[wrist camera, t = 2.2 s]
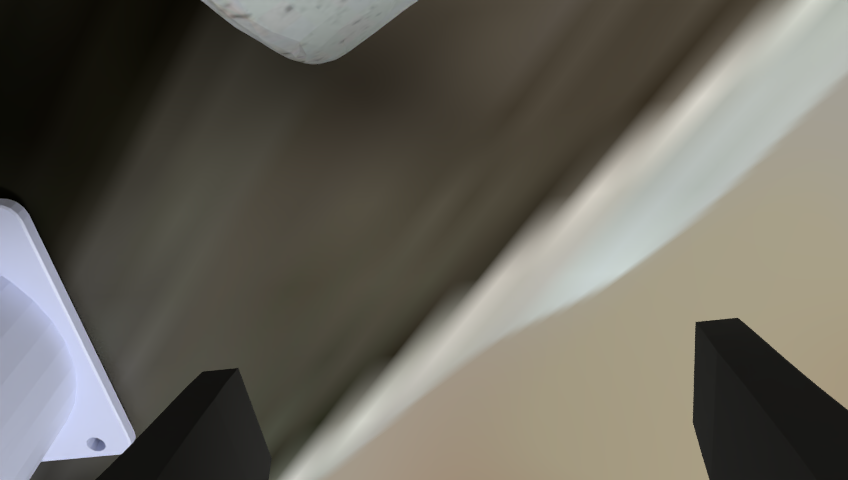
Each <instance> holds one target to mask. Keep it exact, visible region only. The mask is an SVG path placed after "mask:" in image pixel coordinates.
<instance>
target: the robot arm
mask: <svg viewBox="0 0 848 480" xmlns="http://www.w3.org/2000/svg"><path fill="white" fill-rule="evenodd" d="M695 330H696V331H695V366H694V402H693V404H694V405H693V425H694V428H695V432H696V435H697V439H698V442H699V446H700V449H701V453H702V456H703V459H704V463H705V466H706V469H707V473H708V476H709V479H710V480H848V410H847V409H846V408H844V407H843V406H842V405H841V404H839V403H838V402H837V401H836V400H834V399H833V398H832V397H831V396H829V395H828V394H827V393H826V392H824V391H823V390H822V389H821V388H819V387H818V386H817V385H816V384H815V383H813V382H812V381H811V380H810V379H808V378H807V377H806V376H805V375H804V374H803V373H801V372H800V371H799V370H798V369H797V368H795V367H794V366H793V365H792V364H791V363H790V362H788V361H787V360H786V359H785V358H784V357H782V356H781V355H780V354H779V353H778V352H777V351H776V350H775V349H773V348H772V347H771V346H770V345H769V344H768V343H767V342H765V341H764V340H763V339H762V338H761V337H760V336H759V335H757V334H756V333H755V332H754V331H753V330H752V329H750V328H749V327H748V326H747V325H746V324H745V323H743V322H742V321H741V320H740V319H738V318H732V319H722V320H712V321H702V322H696V328H695ZM97 438H99V439H101V440H99V439H97ZM135 438H136V436H135V432H134V430H133V428H132V426H131V424H130V422H129V420H128V418H127V416H126V413H125V411H124V409H123V407H122V405H121V403H120V401H119V399H118V397H117V395H116V393H115V391H114V389H113V387H112V385H111V382H110V380H109V378H108V376H107V374H106V372H105V370H104V368H103V366H102V364H101V362H100V360H99V358H98V356H97V354H96V352H95V349H94V347H93V345H92V343H91V341H90V339H89V337H88V335H87V333H86V331H85V329H84V327H83V325H82V323H81V321H80V319H79V316H78V314H77V312H76V310H75V308H74V306H73V304H72V302H71V300H70V298H69V296H68V294H67V292H66V290H65V288H64V285H63V283H62V281H61V279H60V277H59V275H58V273H57V271H56V269H55V267H54V265H53V263H52V261H51V259H50V257H49V255H48V252H47V250H46V248H45V246H44V244H43V242H42V240H41V238H40V236H39V234H38V232H37V230H36V228H35V226H34V224H33V222H32V219H31V217H30V215H29V214H28V212H27V211H26V210H25V208H24V207H23V206H21V205H20V204H19V203H17V202H15V201H13V200H10V199H0V480H29V479H30V478H31V476H32V475H33V473H34V471H35V470H36V468H37V467H38V465H39V464H40V462H42V461H53V460H64V459H75V458H85V457H96V456H107V455H118V454H121V455H120V456H119V457H118V458H117V459H116V460H115V461H114V462H113V463H112V464H111V465H110V466H109V467H108V468H107V469H106V470H105V471H104V472H103V473H102V474H101V475H100V476H99V477H98V478H97V479H96V480H268V479H269V472H270V465H271V456H270V453H269V450H268V448H267V445H266V442H265V439H264V437H263V434H262V431H261V429H260V426H259V423H258V420H257V418H256V415H255V412H254V410H253V407H252V404H251V401H250V399H249V396H248V393H247V391H246V388H245V385H244V382H243V380H242V377H241V374H240V372H239V369H238V368H235V369H225V370H215V371H205V372H202V373H201V374H200V375H199V376H198V377H197V378H196V379H195V380H193V381H192V382H191V383H190V384H189V385H188V386H187V387H186V388H185V389H184V390H183V391H182V392H181V393H180V395H179V396H178V397H177V398H176V399H175V400H174V401H173V402H172V403H171V404H170V405H169V406H168V407H167V408H166V409H165V410H164V411H163V412H162V413H161V414H160V415H159V416H158V417H157V418H156V419H155V420H154V422H153V423H152V424H151V425H150V426H149V427H148V428H147V429H146V430H145V431H144V432H143V433H142V434H141V435H140V436H139V437H138V438H137V439H136V440H135ZM134 440H135V441H134Z"/></svg>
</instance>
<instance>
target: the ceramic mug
mask: <svg viewBox="0 0 848 480" xmlns="http://www.w3.org/2000/svg"><path fill="white" fill-rule="evenodd" d="M202 1H203V2H204V3H205V4H206V5H208V6H209V7H210V8H211V9H213V10H214V11H215V12H216V13H217V14H219V15H220V16H221V17H222V18H224V19H225V20H226V21H228V22H229V23H230V24H232V25H233V26H234V27H235V28H237V29H239V30H241V31H242V32H244V33H246V34H247V35H249V36H251V37H253V38H254V39H256V40H258V41H260V42H261V43H263V44H264V45H266V46H267V47H269V48H270V49H272V50H274V51H276V52H277V53H279V54H281V55H283V56H285V57H287V58H289V59H292V60H295V61H299V62H302V63H307V64H321V63H325V62H329V61H333V60H336V59H338V58H340V57H341V56H343V55H345V54H346V53H348V52H349V51H351V50H352V49H353V48H355V47H356V46H357V45H359V44H360V43H361V42H363V41H364V40H366V39H367V38H368V37H370V36H371V35H372V34H374V33H375V32H376V31H378V30H379V29H380V28H382V27H383V26H384V25H386V24H387V23H388V22H389V21H391V20H392V19H393V18H395V17H396V16H397V15H399V14H400V13H401V12H403V11H404V10H405V9H407V8H408V7H409V6H411V5H412V4H414V3H415V2H417V1H418V0H202Z"/></svg>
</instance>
